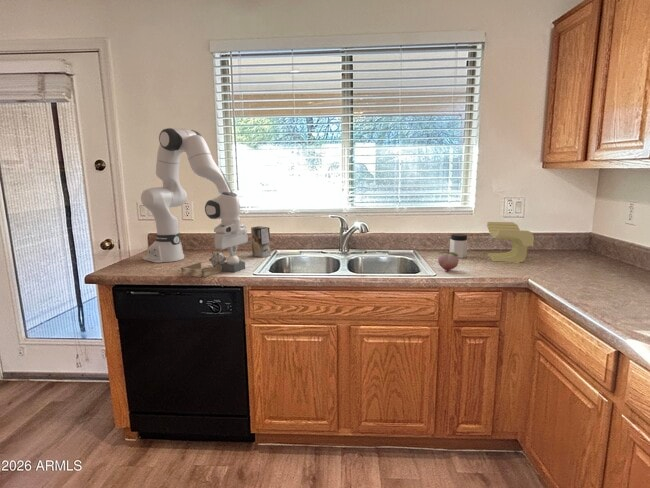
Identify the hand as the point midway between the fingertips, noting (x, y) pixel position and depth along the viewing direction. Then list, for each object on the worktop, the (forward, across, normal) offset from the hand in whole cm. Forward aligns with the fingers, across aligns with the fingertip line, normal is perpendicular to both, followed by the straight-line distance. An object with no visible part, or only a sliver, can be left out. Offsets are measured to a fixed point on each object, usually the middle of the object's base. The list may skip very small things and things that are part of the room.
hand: (232, 255), depth 186 cm
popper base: (+7, 0, 0) cm, 7 cm away
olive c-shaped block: (+8, -77, +118) cm, 141 cm away
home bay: (+7, +11, -10) cm, 17 cm away
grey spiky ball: (+7, 0, -10) cm, 13 cm away
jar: (+8, -74, +94) cm, 120 cm away
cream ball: (+7, 0, 0) cm, 7 cm away
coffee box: (+7, -32, -6) cm, 33 cm away
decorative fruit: (+8, -41, +94) cm, 103 cm away
